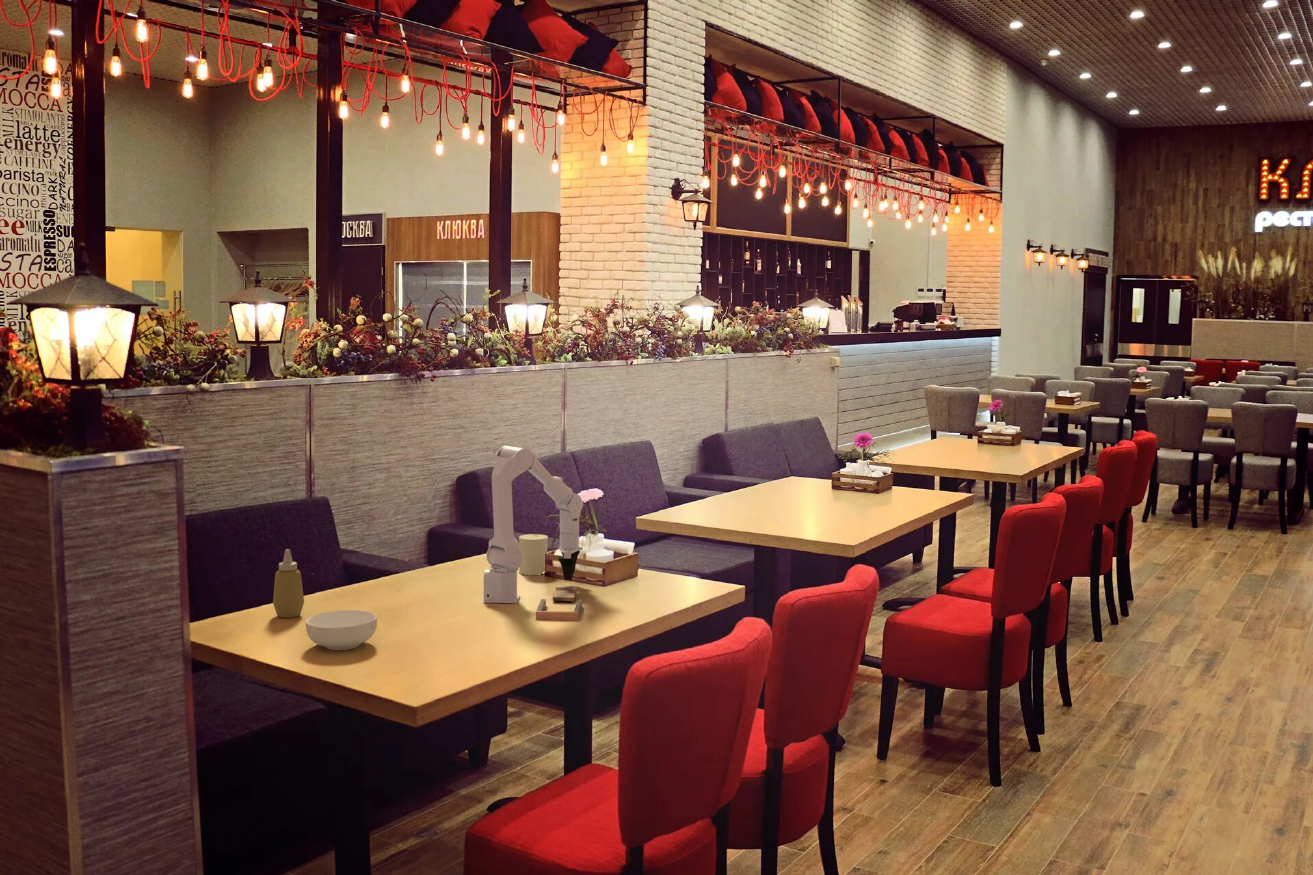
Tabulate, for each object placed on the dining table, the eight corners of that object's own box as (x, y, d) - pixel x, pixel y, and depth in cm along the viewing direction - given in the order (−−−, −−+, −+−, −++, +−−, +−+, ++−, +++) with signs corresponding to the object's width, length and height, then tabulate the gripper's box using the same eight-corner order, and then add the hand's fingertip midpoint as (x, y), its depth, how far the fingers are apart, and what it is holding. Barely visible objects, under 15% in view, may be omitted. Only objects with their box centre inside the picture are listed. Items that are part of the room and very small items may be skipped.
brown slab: (552, 602, 330) (552, 594, 330) (556, 594, 340) (556, 586, 340) (573, 602, 330) (573, 594, 330) (576, 594, 340) (576, 586, 340)
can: (550, 569, 372) (550, 533, 371) (544, 576, 363) (545, 538, 362) (522, 568, 373) (522, 532, 372) (515, 575, 364) (515, 537, 363)
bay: (535, 618, 312) (535, 611, 312) (541, 605, 326) (541, 598, 326) (578, 619, 312) (578, 612, 312) (582, 606, 326) (582, 599, 326)
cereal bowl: (350, 632, 297) (350, 605, 296) (391, 645, 286) (391, 617, 286) (292, 646, 284) (291, 618, 283) (332, 660, 273) (332, 630, 273)
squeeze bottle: (295, 620, 308) (293, 553, 306) (267, 618, 309) (265, 551, 307) (310, 612, 315) (308, 547, 313) (282, 610, 317) (281, 546, 315)
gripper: (580, 537, 340) (580, 582, 342) (584, 528, 355) (584, 571, 356) (556, 537, 340) (556, 582, 342) (561, 527, 355) (561, 571, 356)
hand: (569, 577), depth 349 cm, fingers open, 7 cm apart
